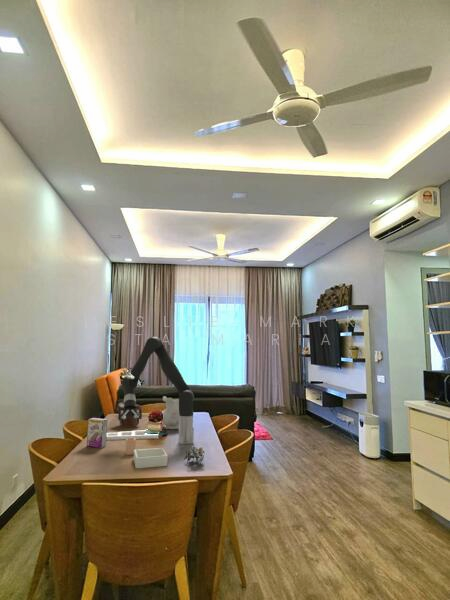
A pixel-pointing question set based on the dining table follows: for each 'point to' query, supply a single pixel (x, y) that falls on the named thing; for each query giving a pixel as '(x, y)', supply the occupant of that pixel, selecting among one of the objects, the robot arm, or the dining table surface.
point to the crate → (150, 458)
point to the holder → (130, 435)
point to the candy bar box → (97, 432)
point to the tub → (130, 446)
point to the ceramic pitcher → (171, 413)
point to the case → (128, 420)
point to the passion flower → (195, 454)
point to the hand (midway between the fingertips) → (130, 424)
